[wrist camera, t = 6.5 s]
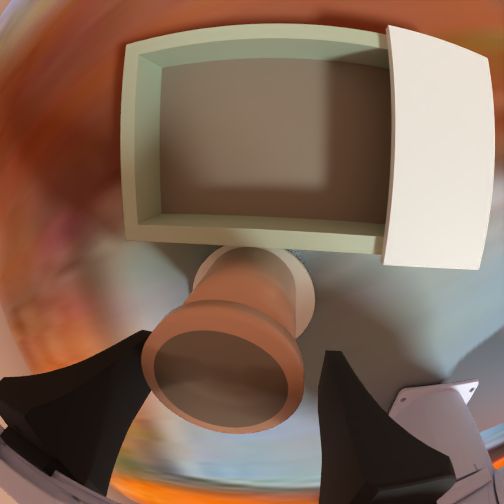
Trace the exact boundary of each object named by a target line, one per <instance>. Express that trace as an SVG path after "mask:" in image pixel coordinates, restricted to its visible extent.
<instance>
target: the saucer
mask: <svg viewBox="0 0 504 504" xmlns="http://www.w3.org/2000/svg"><path fill="white" fill-rule="evenodd" d="M239 247H243V246H225V245H223V246H221V247H220V248H218V249H216V250H215V251H214V252H213V253H211V254H210V255H209V256H208V258H207V259H206V260H205V261H204V262H203V263H202V265H201V266H200V268H199V269H198V272H197V274H196V276H195V279H194V283H193V290H194V289H195V287H196V286H197V285H198V283H199V282H200V280H201V279H202V278H203V276H204V275H205V274H206V272H207V271H208V269H209V268H210V267H211V265H212V264H213V263H214V261H215V260H216V259H217V258H218V257H220V256H221V255H222V254H224V253H225V252H227V251H229V250H232V249H235V248H239ZM257 248H261V247H257ZM261 249H264V250H267V251H269V252H271V253H273V254H275V255H276V256H278V257H279V258H280V259H281V260H282V261H283V262H284V263H285V264H286V265H287V266H288V268H289V269H290V271H291V273H292V275H293V277H294V281H295V287H296V338H297V337H299V336H300V335H301V334H302V333H303V331H304V330H305V329H306V327H307V326H308V324H309V322H310V321H311V318H312V315H313V312H314V307H315V294H314V286H313V282H312V279H311V277H310V274H309V272H308V270H307V269H306V267H305V266H304V264H303V263H302V262H301V261H300V259H299V258H297V257H296V256H295V255H294V254H293V253H292V252H290V251H289V250H288V249H279V248H261Z"/></svg>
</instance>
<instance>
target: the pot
mask: <svg viewBox="0 0 504 504" xmlns="http://www.w3.org/2000/svg"><path fill="white" fill-rule="evenodd" d="M141 365H142V370H143V374H144V377H145V379H146V381H147V383H148V385H149V387H150V389H151V390H152V392H153V393H154V394H155V396H156V397H157V398H158V399H159V400H160V401H161V402H162V403H163V404H164V405H165V406H166V407H167V408H168V409H170V410H171V411H172V412H173V413H175V414H176V415H178V416H179V417H181V418H183V419H185V420H186V421H188V422H190V423H193V424H195V425H197V426H200V427H203V428H206V429H209V430H213V431H217V432H223V433H232V434H245V433H254V432H260V431H264V430H267V429H270V428H273V427H275V426H277V425H279V424H281V423H282V422H284V421H285V420H287V419H288V418H289V417H290V416H291V415H292V414H293V413H294V412H295V411H296V409H297V408H298V406H299V404H300V402H301V400H302V397H303V391H304V365H303V358H302V354H301V351H300V349H299V347H298V345H297V343H296V287H295V281H294V277H293V275H292V273H291V271H290V269H289V268H288V266H287V265H286V264H285V263H284V262H283V261H282V260H281V259H280V258H279V257H278V256H276V255H275V254H273V253H271V252H269V251H267V250H264V249H261V248H257V247H239V248H235V249H232V250H229V251H227V252H225V253H224V254H222V255H221V256H220V257H218V258H217V259H216V260H215V261H214V263H213V264H212V265H211V267H210V268H209V269H208V271H207V272H206V274H205V275H204V276H203V278H202V279H201V280H200V282H199V283H198V285H197V286H196V287H195V289H194V290H193V291H192V293H191V294H190V296H189V297H188V298H187V300H186V301H185V303H184V304H183V305H181V306H179V307H177V308H175V309H174V310H172V311H171V312H169V313H168V314H167V315H166V316H165V317H164V318H163V319H162V320H161V321H160V323H159V324H158V325H157V326H156V328H155V329H154V330H153V332H152V333H151V334H150V336H149V337H148V339H147V340H146V342H145V344H144V347H143V350H142V356H141Z"/></svg>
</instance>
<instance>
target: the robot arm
mask: <svg viewBox="0 0 504 504" xmlns="http://www.w3.org/2000/svg"><path fill="white" fill-rule="evenodd" d="M151 333H152V332H151V331H145V330H141V331H139V332H137V333H135V334H133V335H131V336H129V337H128V338H126V339H124V340H122V341H121V342H119V343H117V344H115V345H113V346H111V347H110V348H108V349H106V350H104V351H102V352H100V353H98V354H96V355H94V356H92V357H90V358H88V359H86V360H83V361H81V362H79V363H76V364H73V365H71V366H68V367H65V368H62V369H58V370H54V371H51V372H47V373H42V374H37V375H30V376H22V377H4V378H3V379H2V380H1V381H0V416H1V417H2V418H3V420H4V421H5V423H6V424H7V425H8V427H7V428H6V429H4V428H3V427H2V426H1V425H0V487H1V488H2V489H3V490H4V491H5V492H6V493H7V494H8V495H9V496H11V497H12V498H13V499H14V500H15V501H16V502H17V503H18V504H81V503H82V504H120V503H118V502H115V501H113V500H111V499H109V498H106V495H107V490H108V486H109V482H110V478H111V475H112V471H113V468H114V465H115V462H116V459H117V456H118V453H119V451H120V448H121V446H122V443H123V441H124V438H125V436H126V434H127V431H128V429H129V427H130V425H131V423H132V421H133V420H134V418H135V416H136V415H137V413H138V411H139V410H140V408H141V406H142V405H143V403H144V401H145V400H146V398H147V397H148V395H149V393H150V391H151V389H150V387H149V385H148V383H147V381H146V379H145V377H144V374H143V370H142V365H141V356H142V350H143V347H144V344H145V342H146V340H147V339H148V337H149V336H150V334H151ZM478 383H479V382H478V380H477V379H471V380H465V381H459V382H453V383H446V384H438V385H430V386H421V387H411V388H404V389H402V390H401V391H400V392H399V393H398V395H397V398H396V400H395V402H394V404H393V406H392V408H391V410H390V412H389V414H387V413H386V412H385V411H384V410H383V409H382V408H381V407H380V406H379V405H378V403H377V402H376V401H375V400H374V399H373V397H372V396H371V395H370V394H369V393H368V391H367V390H366V389H365V387H364V386H363V384H362V383H361V382H360V380H359V379H358V377H357V376H356V374H355V373H354V371H353V370H352V368H351V367H350V365H349V363H348V362H347V360H346V358H345V357H344V355H343V353H342V352H341V351H326V352H325V357H324V362H323V367H322V372H321V377H320V381H319V386H318V415H319V425H320V436H321V448H322V470H321V485H320V497H319V504H504V466H503V467H501V468H500V469H498V470H496V469H494V467H493V464H492V462H491V459H490V457H489V454H488V452H487V449H486V447H485V444H484V442H483V440H482V437H481V435H480V433H479V431H478V428H477V426H476V424H475V422H474V420H473V418H472V416H471V413H470V411H469V409H468V408H467V405H466V404H467V403H468V401H469V399H470V398H471V396H472V394H473V393H474V391H475V389H476V387H477V386H478Z"/></svg>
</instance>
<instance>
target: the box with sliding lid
mask: <svg viewBox="0 0 504 504" xmlns="http://www.w3.org/2000/svg"><path fill="white" fill-rule="evenodd" d="M120 150H121V184H122V201H123V215H124V226H125V236H126V240H129V241H149V242H168V243H187V244H206V245H225V246H243V247H261V248H279V249H296V250H314V251H331V252H348V253H364V254H381V260H380V261H381V263H382V264H383V265H393V266H412V267H431V268H451V269H472V270H479V267H480V263H481V258H482V254H483V249H484V244H485V239H486V234H487V228H488V222H489V215H490V208H491V200H492V190H493V178H494V160H495V123H494V105H493V94H492V84H491V77H490V70H489V63H488V58H486V57H484V56H482V55H479V54H477V53H475V52H472V51H470V50H468V49H465V48H463V47H460V46H457V45H455V44H452V43H449V42H447V41H444V40H441V39H438V38H435V37H432V36H428V35H425V34H422V33H418V32H415V31H411V30H407V29H403V28H399V27H395V26H391V25H388V27H387V28H386V34H381V33H376V32H370V31H364V30H358V29H351V28H343V27H334V26H324V25H310V24H245V25H231V26H220V27H212V28H204V29H197V30H190V31H184V32H179V33H173V34H168V35H163V36H159V37H154V38H150V39H146V40H142V41H138V42H134V43H131V44H127V45H126V51H125V60H124V71H123V83H122V100H121V133H120Z"/></svg>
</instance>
